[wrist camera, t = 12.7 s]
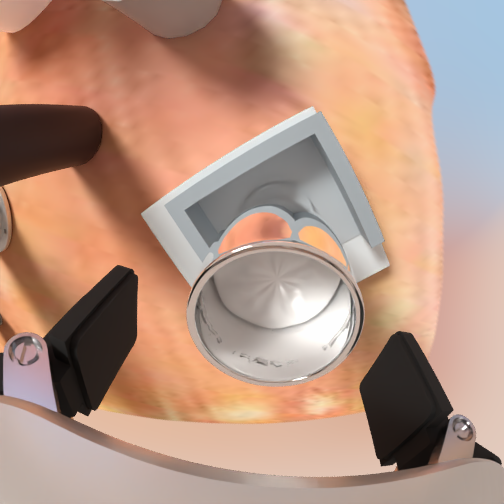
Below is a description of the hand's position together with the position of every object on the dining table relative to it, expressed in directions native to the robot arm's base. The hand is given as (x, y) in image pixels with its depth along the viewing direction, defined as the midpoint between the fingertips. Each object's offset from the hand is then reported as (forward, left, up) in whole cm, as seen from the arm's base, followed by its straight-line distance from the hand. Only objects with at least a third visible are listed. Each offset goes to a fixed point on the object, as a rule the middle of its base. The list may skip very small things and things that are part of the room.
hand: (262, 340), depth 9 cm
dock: (-1, -1, -18) cm, 18 cm away
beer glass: (0, 0, -16) cm, 16 cm away
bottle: (-13, +19, -18) cm, 29 cm away
